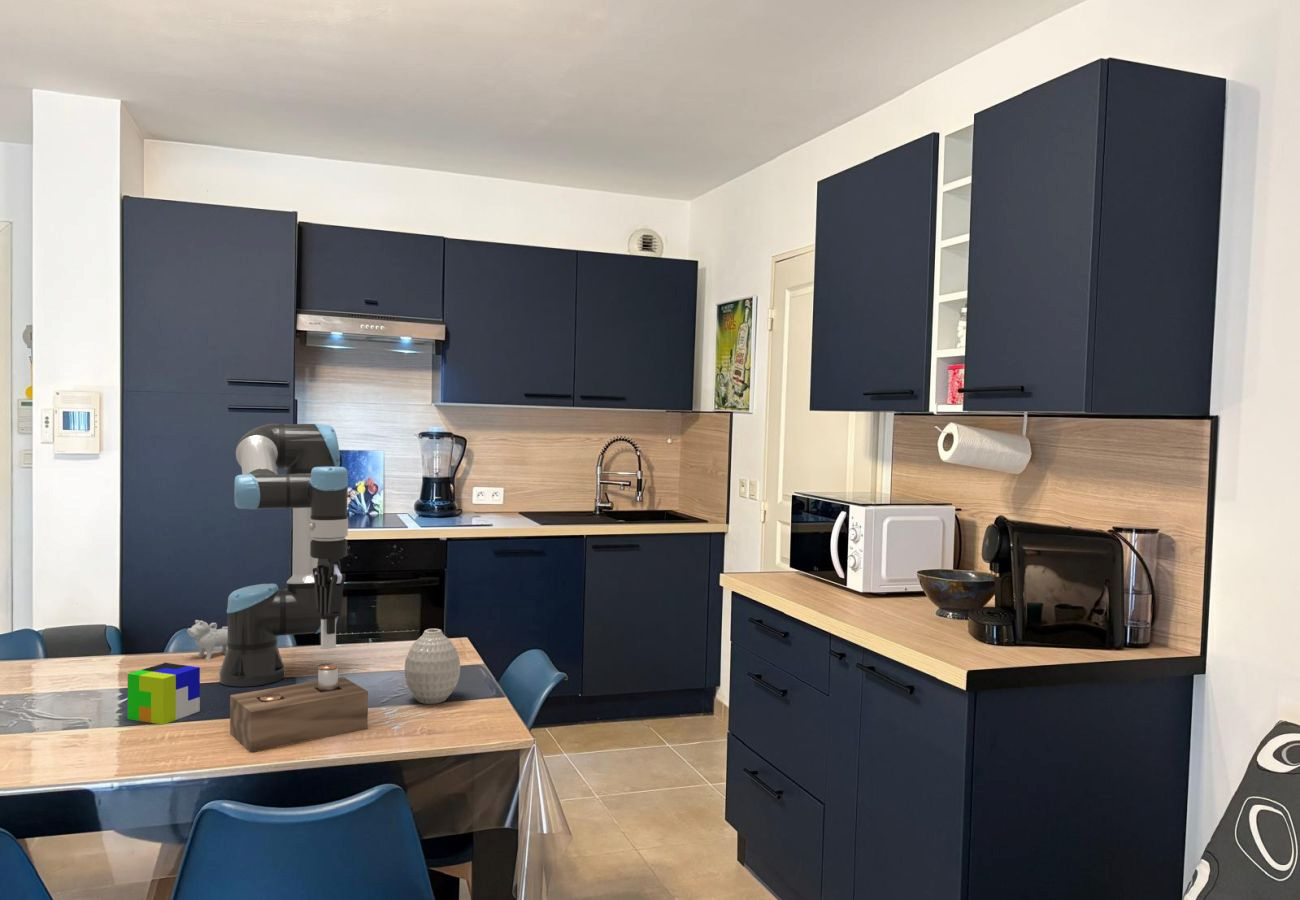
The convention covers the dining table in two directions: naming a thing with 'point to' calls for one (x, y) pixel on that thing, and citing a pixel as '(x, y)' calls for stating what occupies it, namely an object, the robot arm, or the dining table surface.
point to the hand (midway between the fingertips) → (328, 648)
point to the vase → (432, 667)
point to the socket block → (297, 714)
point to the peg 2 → (327, 677)
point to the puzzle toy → (163, 693)
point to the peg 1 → (270, 698)
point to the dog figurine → (208, 637)
